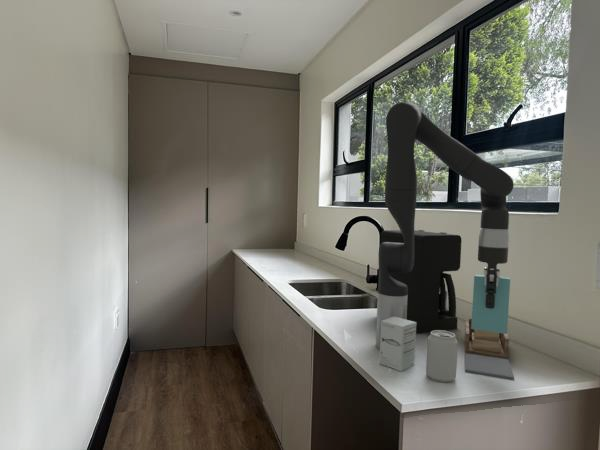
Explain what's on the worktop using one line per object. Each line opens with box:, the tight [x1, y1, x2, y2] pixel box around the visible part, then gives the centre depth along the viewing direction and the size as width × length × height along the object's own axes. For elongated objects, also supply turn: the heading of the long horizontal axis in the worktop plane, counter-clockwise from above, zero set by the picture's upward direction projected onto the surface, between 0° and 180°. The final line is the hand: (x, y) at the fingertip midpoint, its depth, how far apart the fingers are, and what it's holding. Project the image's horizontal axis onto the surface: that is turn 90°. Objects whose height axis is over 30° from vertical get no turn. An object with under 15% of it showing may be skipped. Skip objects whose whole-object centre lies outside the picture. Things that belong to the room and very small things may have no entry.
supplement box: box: [378, 317, 417, 372], centre depth 118 cm, size 7×7×13 cm
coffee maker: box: [380, 229, 462, 335], centre depth 160 cm, size 28×20×35 cm
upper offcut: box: [474, 329, 499, 342], centre depth 133 cm, size 6×7×3 cm
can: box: [425, 330, 459, 383], centre depth 110 cm, size 8×8×12 cm
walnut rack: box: [464, 317, 510, 359], centre depth 135 cm, size 16×12×7 cm
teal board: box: [471, 274, 511, 335], centre depth 117 cm, size 3×9×15 cm, turn 66°
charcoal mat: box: [464, 352, 515, 380], centre depth 119 cm, size 14×12×1 cm
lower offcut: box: [472, 333, 501, 353], centre depth 133 cm, size 7×8×3 cm
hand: (489, 306), depth 117 cm, fingers closed on teal board, 3 cm apart
